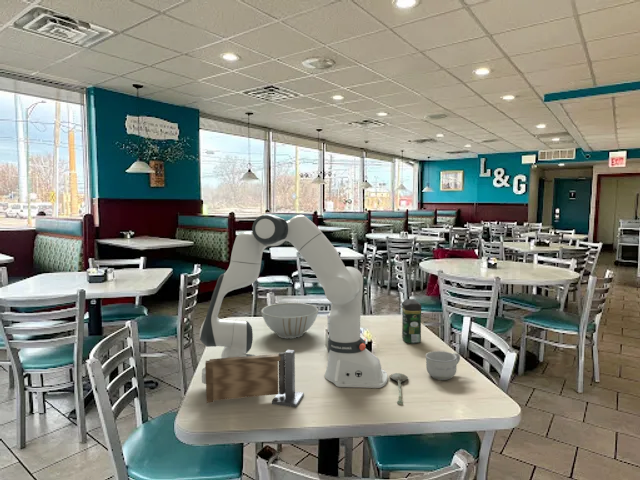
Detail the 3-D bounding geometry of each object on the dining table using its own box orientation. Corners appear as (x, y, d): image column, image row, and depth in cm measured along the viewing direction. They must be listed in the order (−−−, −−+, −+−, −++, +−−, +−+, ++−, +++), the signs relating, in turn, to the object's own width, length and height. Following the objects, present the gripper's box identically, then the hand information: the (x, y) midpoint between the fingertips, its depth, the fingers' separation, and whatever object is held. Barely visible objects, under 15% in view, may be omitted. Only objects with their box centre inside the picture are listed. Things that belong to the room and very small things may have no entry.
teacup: (435, 384, 143) (435, 362, 142) (419, 372, 153) (420, 351, 152) (470, 380, 146) (471, 358, 146) (452, 368, 157) (453, 347, 156)
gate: (284, 392, 134) (284, 352, 132) (285, 395, 132) (285, 354, 130) (206, 400, 128) (205, 358, 127) (206, 403, 127) (205, 360, 125)
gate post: (303, 395, 135) (303, 347, 133) (296, 407, 127) (295, 356, 126) (280, 392, 137) (280, 345, 135) (271, 404, 129) (271, 354, 128)
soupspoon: (407, 378, 150) (389, 378, 151) (407, 369, 150) (389, 369, 151) (410, 406, 129) (388, 405, 130) (410, 395, 128) (388, 394, 130)
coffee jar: (400, 337, 193) (400, 297, 191) (417, 337, 193) (418, 297, 191) (404, 344, 183) (405, 303, 181) (422, 344, 183) (423, 303, 181)
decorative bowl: (298, 348, 179) (298, 320, 177) (249, 337, 192) (249, 312, 191) (328, 331, 202) (328, 306, 201) (283, 323, 215) (283, 300, 214)
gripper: (202, 359, 141) (198, 375, 127) (263, 354, 145) (265, 370, 131) (202, 376, 141) (199, 395, 128) (263, 372, 145) (266, 389, 132)
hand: (233, 382), depth 129 cm, fingers closed, pressing on gate
